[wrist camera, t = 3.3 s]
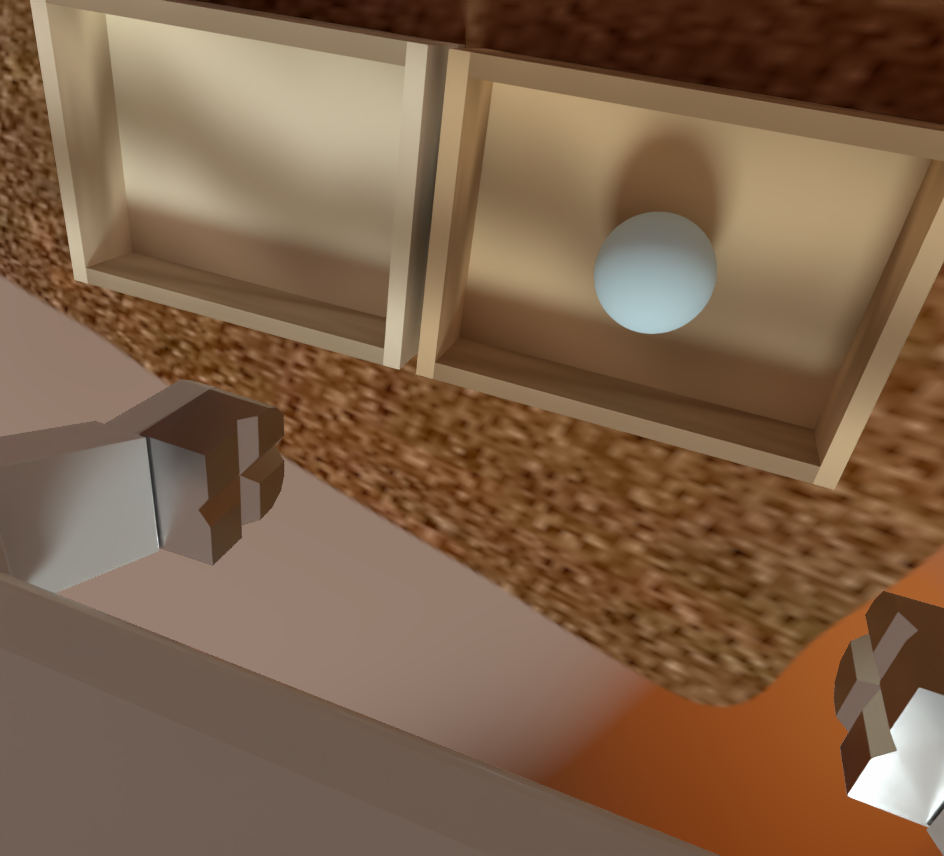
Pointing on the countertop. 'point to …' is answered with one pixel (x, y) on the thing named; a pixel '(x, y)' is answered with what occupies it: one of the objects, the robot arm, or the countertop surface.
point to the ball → (655, 272)
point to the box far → (248, 165)
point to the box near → (722, 220)
